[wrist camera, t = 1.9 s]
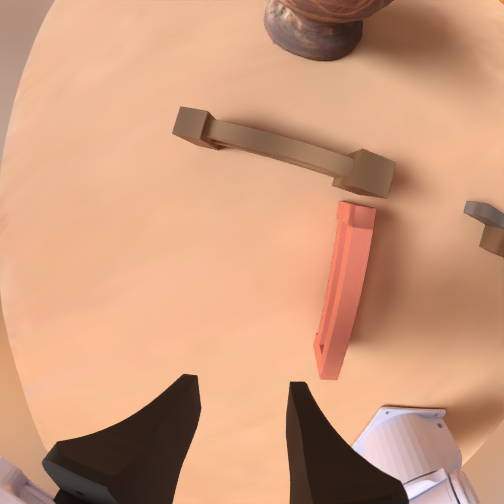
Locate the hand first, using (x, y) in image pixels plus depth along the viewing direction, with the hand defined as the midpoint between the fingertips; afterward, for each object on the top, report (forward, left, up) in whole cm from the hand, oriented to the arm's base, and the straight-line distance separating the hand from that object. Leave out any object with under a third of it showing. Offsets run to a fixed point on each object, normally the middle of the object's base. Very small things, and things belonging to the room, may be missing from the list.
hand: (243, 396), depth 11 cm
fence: (-9, -11, -10) cm, 18 cm away
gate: (-5, -3, -10) cm, 12 cm away
